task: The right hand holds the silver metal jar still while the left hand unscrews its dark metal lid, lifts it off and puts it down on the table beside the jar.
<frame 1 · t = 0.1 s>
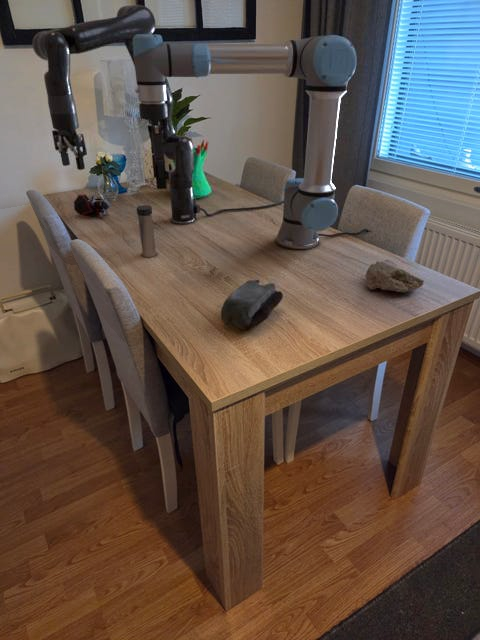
left hand: (73, 167, 141), 29 cm above the table, tool pointing down, fingers open, 8 cm apart
right hand: (160, 182, 130), 28 cm above the table, tool pointing down, fingers open, 13 cm apart
artifact: (387, 284, 136), on the table
lid: (144, 208, 146), point 16 cm above the table, screwed on, not yet turned
jar: (149, 254, 155), on the table
toy 2: (190, 195, 217), on the table
toy: (92, 216, 189), on the table
dark grey soft lump: (252, 317, 119), on the table
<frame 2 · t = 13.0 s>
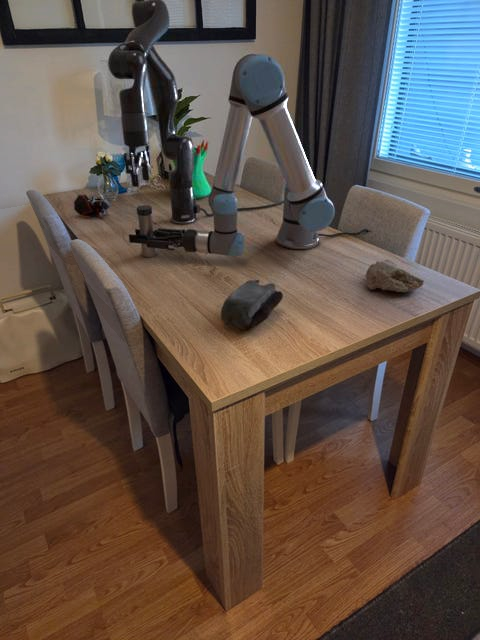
left hand: (141, 183, 142), 25 cm above the table, tool pointing down, fingers open, 7 cm apart
right hand: (132, 235, 153), 7 cm above the table, tool horizontal, fingers closed on jar, 4 cm apart
jar: (149, 254, 155), on the table, touching right hand
everything else where it was.
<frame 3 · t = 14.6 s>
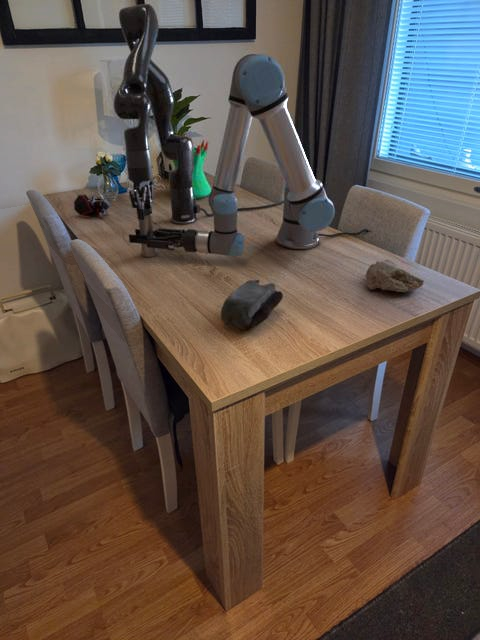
left hand: (145, 216, 148), 14 cm above the table, tool pointing down, fingers closed on lid, 5 cm apart
right hand: (132, 235, 153), 6 cm above the table, tool horizontal, fingers closed on jar, 4 cm apart
lid: (144, 208, 146), point 16 cm above the table, screwed on, not yet turned, touching left hand
jar: (149, 254, 155), on the table, touching right hand
everything else where it was.
when the left hand's fingers open (14 cm above the table, at t = 16.4 s): lid stays where it is, point 17 cm above the table.
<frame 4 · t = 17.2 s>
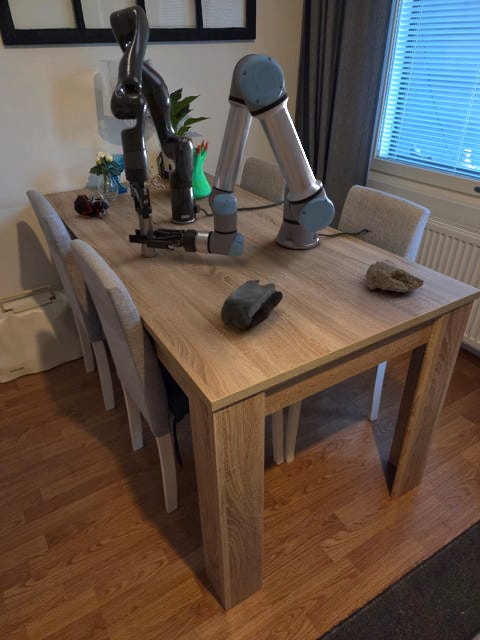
left hand: (142, 215, 148), 14 cm above the table, tool pointing down, fingers open, 7 cm apart
right hand: (132, 235, 153), 6 cm above the table, tool horizontal, fingers closed on jar, 4 cm apart
lid: (144, 207, 146), point 17 cm above the table, turned 94° so far, risen 0.3 cm, still on its thread
jar: (149, 254, 155), on the table, touching right hand
everything else where it was.
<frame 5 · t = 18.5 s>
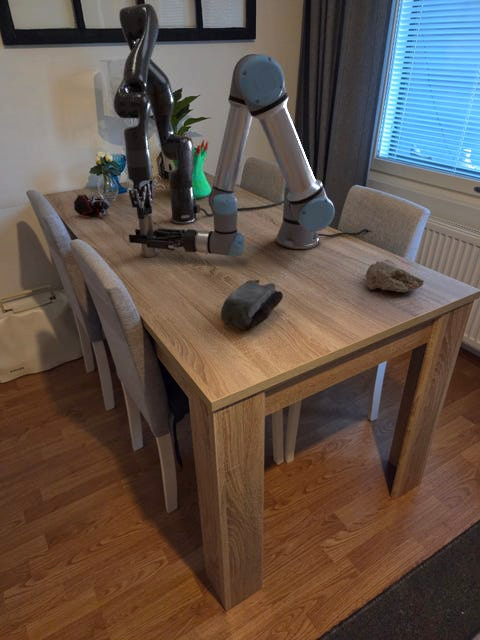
left hand: (144, 215, 148), 14 cm above the table, tool pointing down, fingers closed on lid, 5 cm apart
right hand: (132, 235, 153), 6 cm above the table, tool horizontal, fingers closed on jar, 4 cm apart
lid: (144, 207, 146), point 17 cm above the table, turned 94° so far, risen 0.3 cm, still on its thread, touching left hand
jar: (149, 254, 155), on the table, touching right hand
everything else where it was.
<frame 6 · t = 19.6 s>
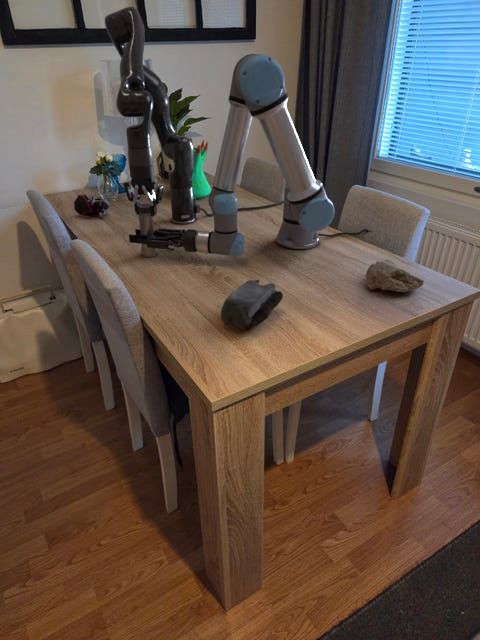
left hand: (146, 214, 148), 14 cm above the table, tool pointing down, fingers closed on lid, 5 cm apart
right hand: (133, 235, 153), 6 cm above the table, tool horizontal, fingers closed on jar, 4 cm apart
lid: (145, 206, 146), point 17 cm above the table, off its thread, touching left hand, jar
jar: (149, 254, 155), on the table, touching right hand, lid
everything else where it was.
when the left hand's fingers open (0 cm above the table, at t = 25.3 s): lid drops 1 cm, point 2 cm above the table.
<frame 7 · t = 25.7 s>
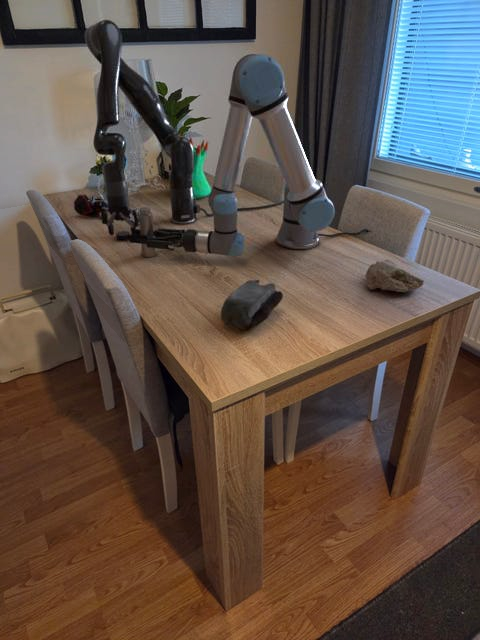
left hand: (123, 235, 167), 1 cm above the table, tool pointing down, fingers open, 8 cm apart
right hand: (132, 235, 153), 6 cm above the table, tool horizontal, fingers closed on jar, 4 cm apart
lid: (122, 234, 167), point 2 cm above the table, off its thread
jar: (149, 254, 155), on the table, touching right hand
everything else where it was.
when the right hand's fingers open (6 cm above the table, at t = 26.2 s): jar stays where it is, on the table.
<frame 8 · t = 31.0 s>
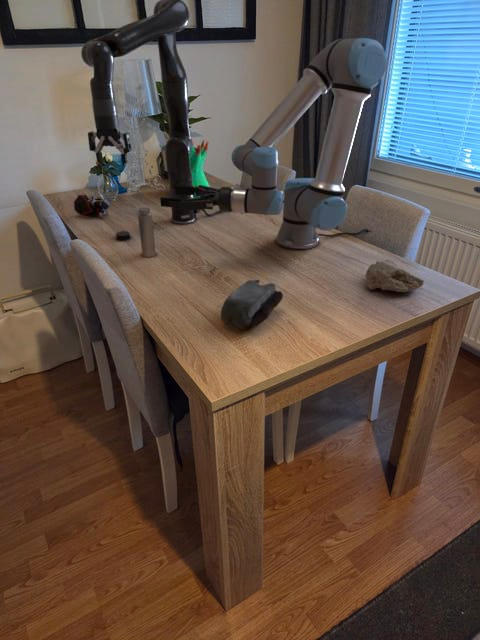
left hand: (112, 164, 154), 27 cm above the table, tool pointing down, fingers open, 8 cm apart
right hand: (168, 195, 142), 21 cm above the table, tool horizontal, fingers open, 13 cm apart
jar: (149, 254, 155), on the table
everything else where it was.
at the end: lid came off its thread; lid point 1.6 cm above the table; the left hand is holding nothing; the right hand is holding nothing; jar tilted 0°; jar moved 0.0 cm from its start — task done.
